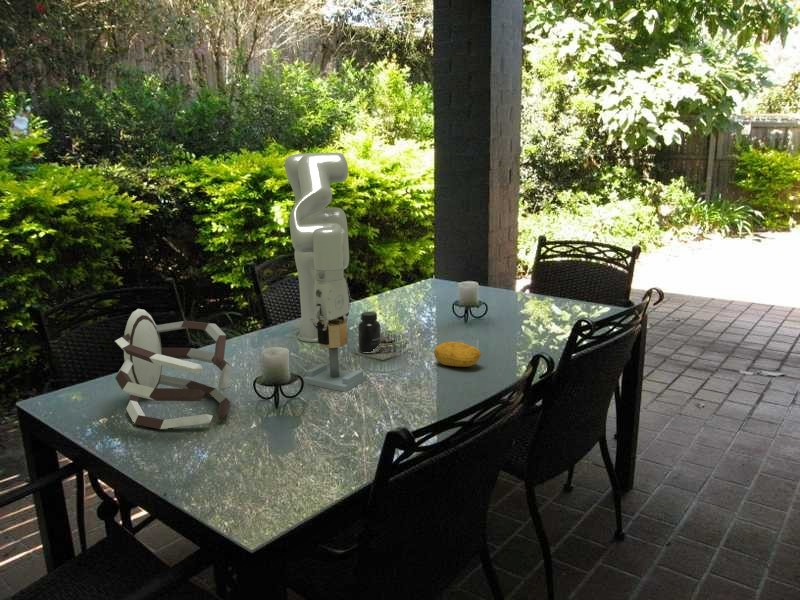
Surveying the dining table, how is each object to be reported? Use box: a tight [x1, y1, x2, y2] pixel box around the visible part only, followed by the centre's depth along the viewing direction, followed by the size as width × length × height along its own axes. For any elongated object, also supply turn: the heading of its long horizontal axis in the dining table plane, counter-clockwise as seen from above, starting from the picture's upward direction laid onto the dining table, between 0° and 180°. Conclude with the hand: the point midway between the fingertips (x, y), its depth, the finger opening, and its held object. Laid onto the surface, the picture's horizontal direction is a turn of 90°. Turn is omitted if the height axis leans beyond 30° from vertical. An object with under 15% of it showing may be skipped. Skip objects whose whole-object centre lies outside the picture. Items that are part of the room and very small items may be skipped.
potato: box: [433, 341, 482, 368], centre depth 188 cm, size 8×14×7 cm, turn 56°
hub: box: [319, 318, 348, 349], centre depth 176 cm, size 7×7×6 cm
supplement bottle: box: [357, 311, 382, 353], centre depth 202 cm, size 7×7×12 cm
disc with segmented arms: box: [114, 308, 233, 430], centre depth 160 cm, size 24×27×35 cm
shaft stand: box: [302, 347, 368, 393], centre depth 178 cm, size 14×10×10 cm
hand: (332, 339), depth 176 cm, fingers closed on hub, 7 cm apart
